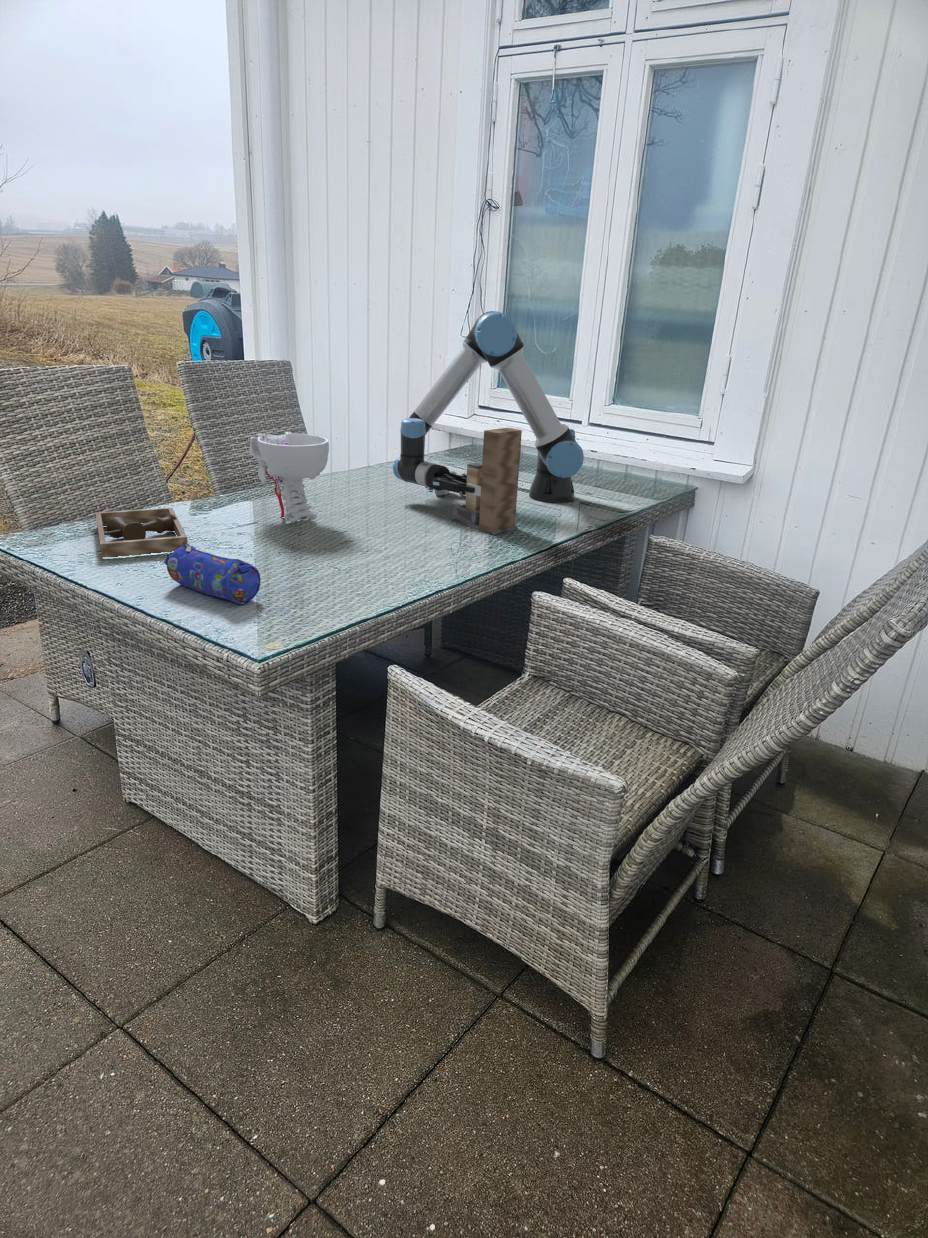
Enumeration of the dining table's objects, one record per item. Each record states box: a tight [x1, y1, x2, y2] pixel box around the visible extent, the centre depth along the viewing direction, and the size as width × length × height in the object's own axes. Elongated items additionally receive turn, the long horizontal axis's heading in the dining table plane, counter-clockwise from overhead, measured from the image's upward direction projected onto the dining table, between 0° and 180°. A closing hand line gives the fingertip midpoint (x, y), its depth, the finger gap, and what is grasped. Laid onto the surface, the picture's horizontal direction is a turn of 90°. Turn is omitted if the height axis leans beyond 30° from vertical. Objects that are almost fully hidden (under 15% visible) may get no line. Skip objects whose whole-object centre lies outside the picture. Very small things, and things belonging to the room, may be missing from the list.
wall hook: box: [433, 469, 464, 497], centre depth 257 cm, size 8×10×10 cm
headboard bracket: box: [451, 427, 523, 536], centre depth 221 cm, size 10×17×28 cm, turn 46°
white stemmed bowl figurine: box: [248, 431, 330, 523], centre depth 220 cm, size 25×19×23 cm
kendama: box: [104, 514, 178, 541], centre depth 199 cm, size 6×10×20 cm
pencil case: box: [163, 542, 261, 605], centre depth 166 cm, size 22×9×10 cm, turn 56°
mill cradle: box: [94, 506, 189, 557], centre depth 199 cm, size 19×29×4 cm, turn 26°
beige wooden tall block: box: [464, 462, 482, 511], centre depth 225 cm, size 4×4×15 cm
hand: (489, 491), depth 222 cm, fingers closed on beige wooden tall block, 4 cm apart
